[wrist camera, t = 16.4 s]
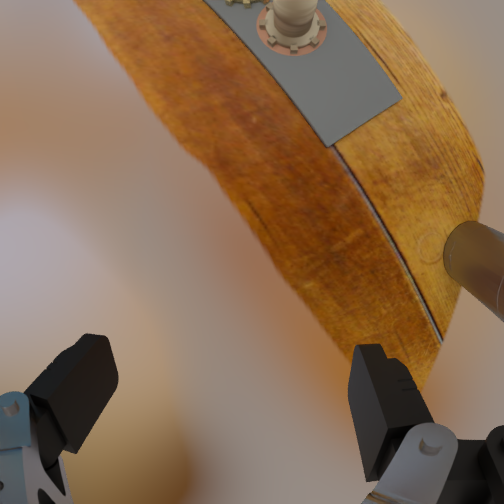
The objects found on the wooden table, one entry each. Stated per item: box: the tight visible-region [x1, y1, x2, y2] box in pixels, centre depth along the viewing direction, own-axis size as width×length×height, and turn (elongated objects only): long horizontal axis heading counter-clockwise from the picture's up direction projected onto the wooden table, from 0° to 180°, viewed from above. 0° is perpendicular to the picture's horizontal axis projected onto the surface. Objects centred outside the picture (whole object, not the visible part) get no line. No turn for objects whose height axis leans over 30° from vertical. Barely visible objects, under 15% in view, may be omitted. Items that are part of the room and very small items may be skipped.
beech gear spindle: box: [259, 0, 326, 54], centre depth 27 cm, size 8×8×10 cm
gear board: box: [203, 0, 402, 147], centre depth 33 cm, size 30×12×2 cm, turn 37°
